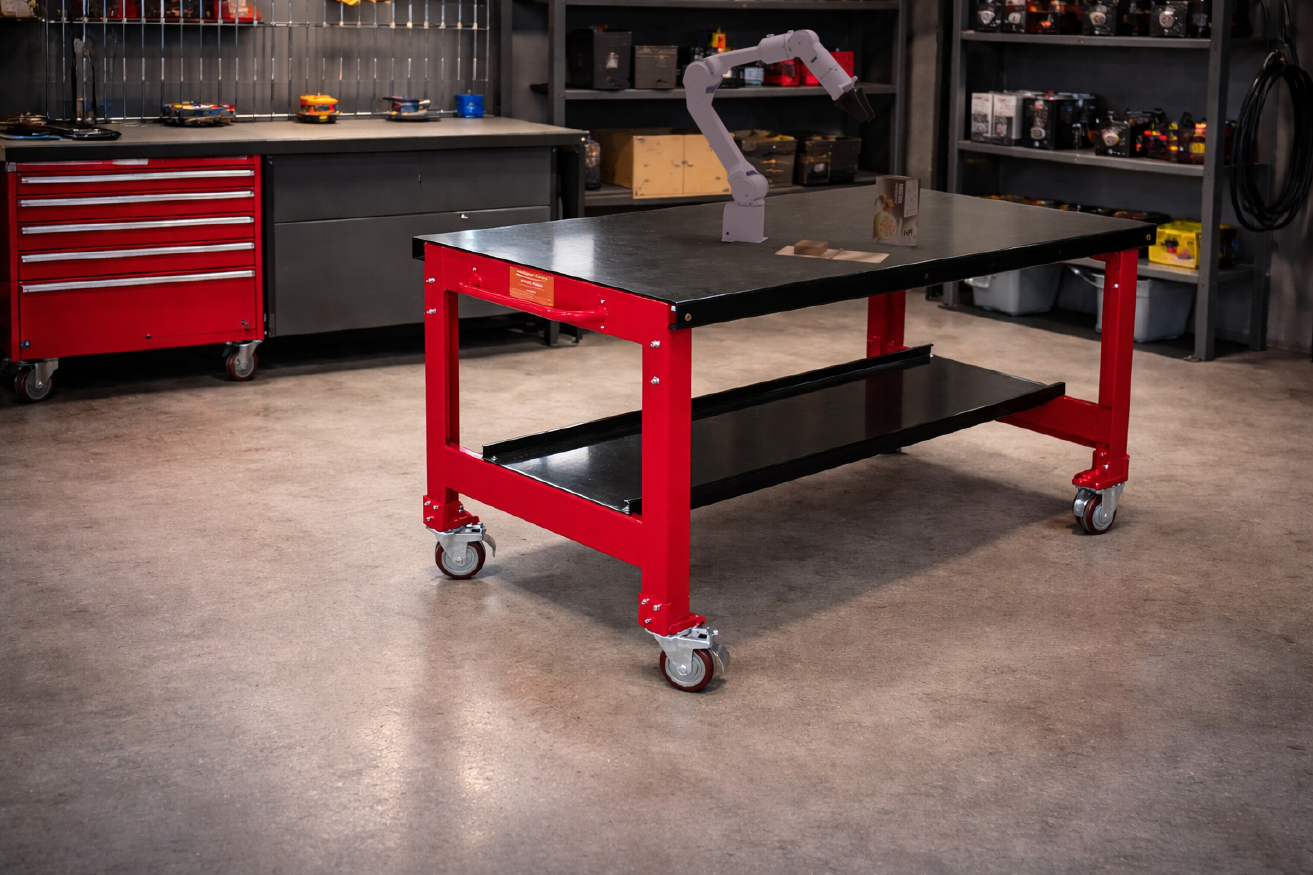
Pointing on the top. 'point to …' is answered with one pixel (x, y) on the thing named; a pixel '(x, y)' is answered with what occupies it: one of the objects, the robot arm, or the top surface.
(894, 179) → the coffee box
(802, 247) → the stub tile
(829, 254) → the pale wooden flat slab
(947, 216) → the top surface
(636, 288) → the top surface
